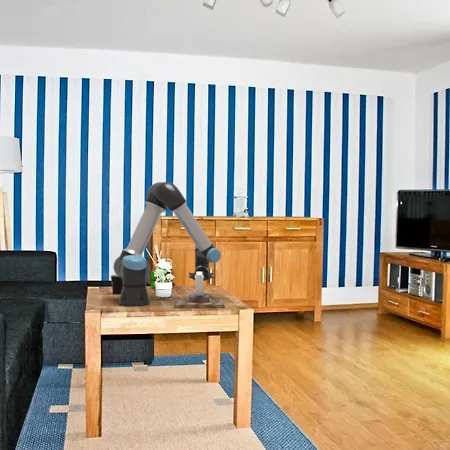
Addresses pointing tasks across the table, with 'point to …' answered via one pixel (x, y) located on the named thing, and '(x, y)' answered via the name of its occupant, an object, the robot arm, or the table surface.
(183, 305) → the switch base
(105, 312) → the table surface
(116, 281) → the coffee mug
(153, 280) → the puzzle cube
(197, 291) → the switch lever
